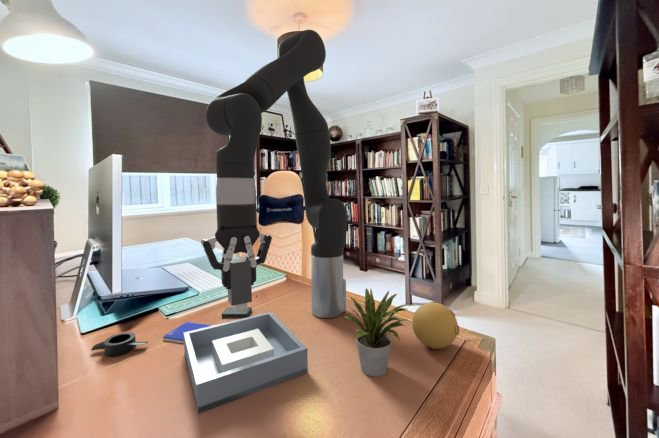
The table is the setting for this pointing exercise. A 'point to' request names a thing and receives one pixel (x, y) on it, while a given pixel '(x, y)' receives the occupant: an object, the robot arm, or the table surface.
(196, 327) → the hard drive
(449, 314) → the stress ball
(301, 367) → the walled box
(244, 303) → the plug
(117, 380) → the table surface
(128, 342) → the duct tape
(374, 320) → the house plant
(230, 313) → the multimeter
